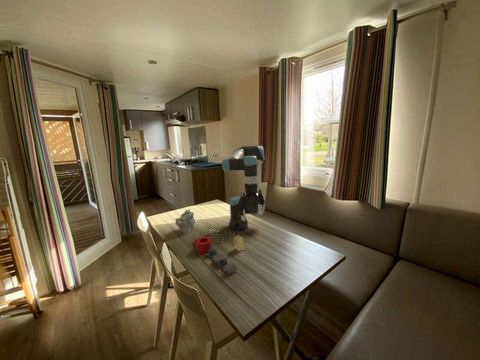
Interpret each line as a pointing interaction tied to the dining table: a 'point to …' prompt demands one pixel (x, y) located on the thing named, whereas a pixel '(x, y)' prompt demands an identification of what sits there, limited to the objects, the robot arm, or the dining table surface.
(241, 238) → the nut block
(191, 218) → the grey lumpy piece
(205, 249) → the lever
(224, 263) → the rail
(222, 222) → the dining table surface
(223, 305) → the dining table surface
